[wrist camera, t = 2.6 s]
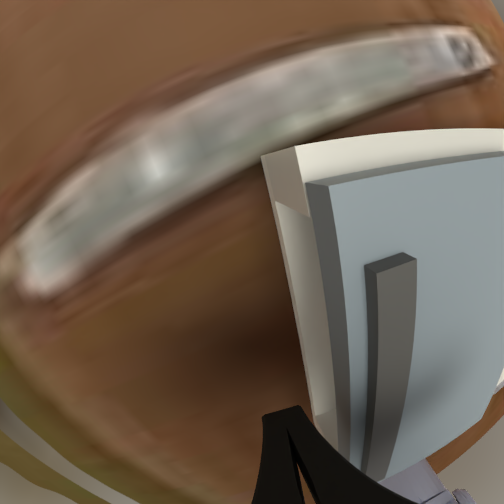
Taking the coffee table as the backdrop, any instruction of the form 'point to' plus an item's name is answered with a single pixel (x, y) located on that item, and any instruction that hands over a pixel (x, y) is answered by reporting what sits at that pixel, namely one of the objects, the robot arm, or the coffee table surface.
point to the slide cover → (412, 303)
